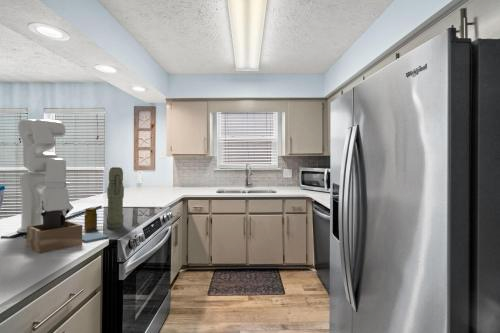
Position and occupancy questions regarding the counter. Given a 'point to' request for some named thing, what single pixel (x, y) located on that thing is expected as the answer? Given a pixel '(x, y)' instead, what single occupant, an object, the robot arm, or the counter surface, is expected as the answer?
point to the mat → (93, 237)
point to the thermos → (115, 198)
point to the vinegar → (52, 220)
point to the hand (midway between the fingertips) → (55, 225)
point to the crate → (54, 237)
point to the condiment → (91, 220)
